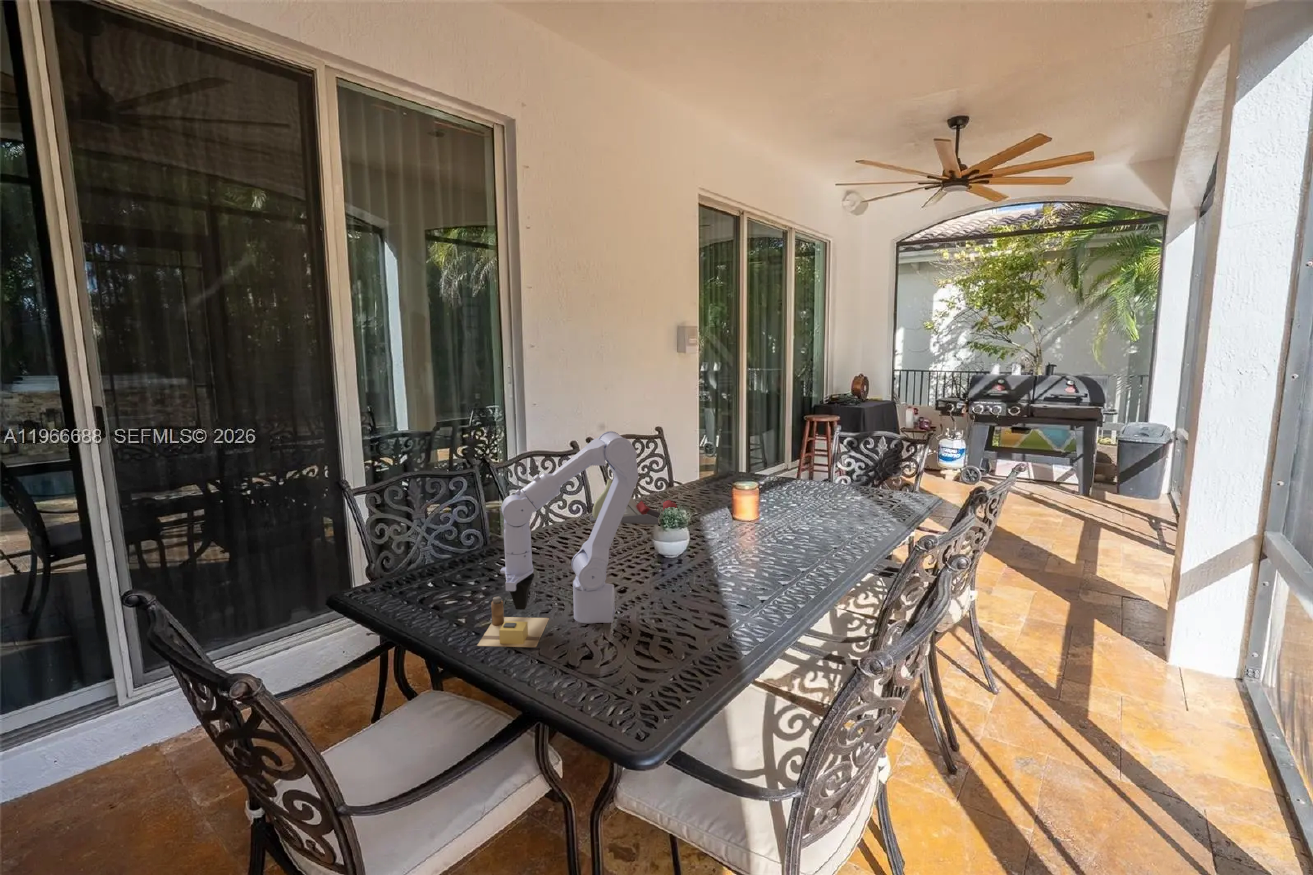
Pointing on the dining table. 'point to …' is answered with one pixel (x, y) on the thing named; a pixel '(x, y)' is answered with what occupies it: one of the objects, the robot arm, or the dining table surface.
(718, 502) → the dining table surface
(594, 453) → the robot arm
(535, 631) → the plywood panel
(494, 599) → the brown gray-topped cylinder
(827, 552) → the dining table surface
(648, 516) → the hand plane
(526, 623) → the stud finder
